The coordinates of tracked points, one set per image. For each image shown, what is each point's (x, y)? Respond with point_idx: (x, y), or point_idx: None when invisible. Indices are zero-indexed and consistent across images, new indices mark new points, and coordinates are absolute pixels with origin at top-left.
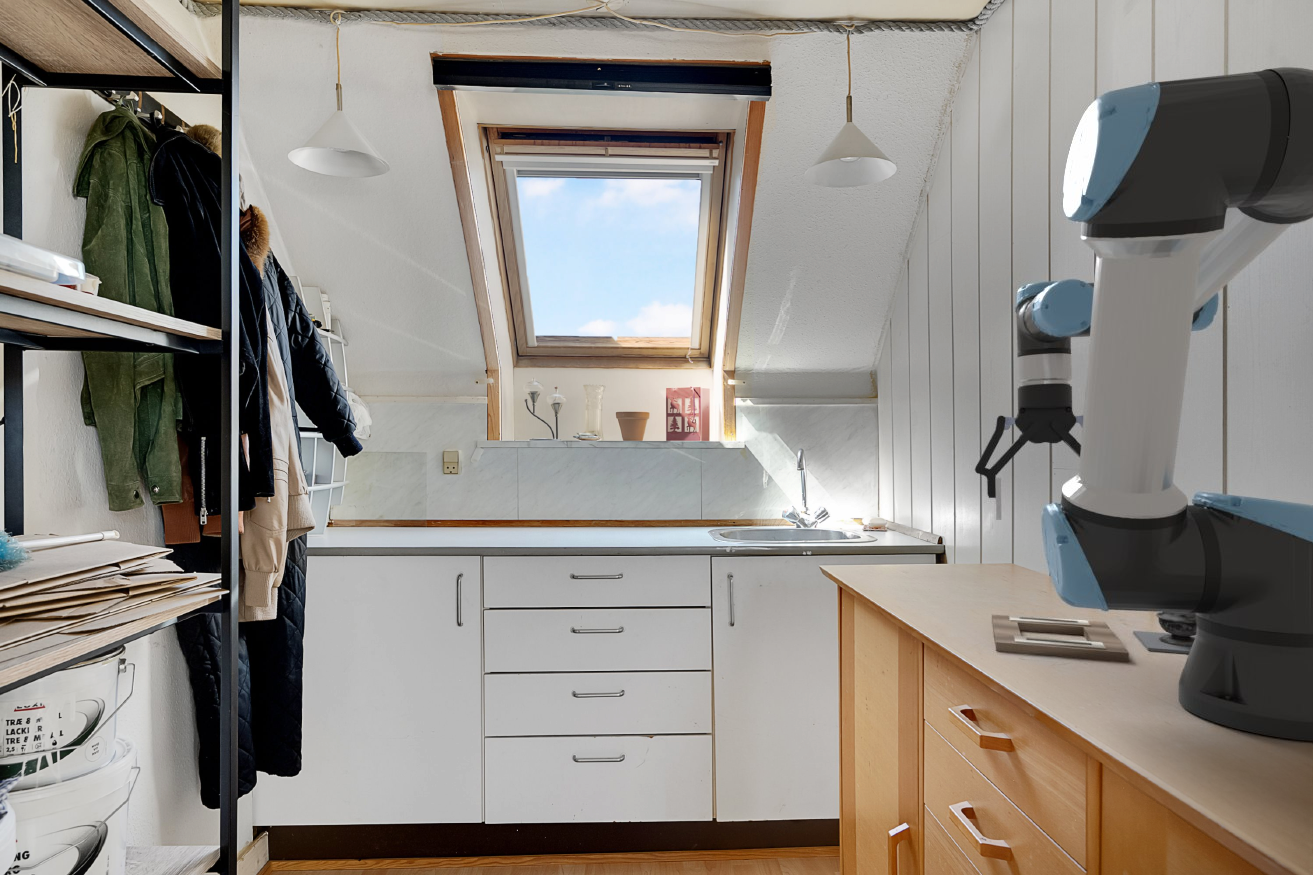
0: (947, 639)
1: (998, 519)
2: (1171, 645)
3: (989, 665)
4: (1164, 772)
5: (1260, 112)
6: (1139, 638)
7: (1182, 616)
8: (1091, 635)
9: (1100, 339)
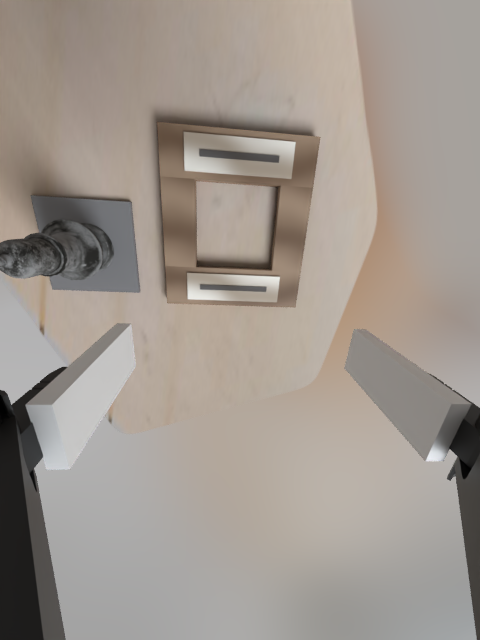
0: (364, 190)
1: (361, 329)
2: (101, 224)
3: (340, 43)
4: None
5: None
6: (135, 255)
7: (66, 230)
8: (192, 219)
9: None
